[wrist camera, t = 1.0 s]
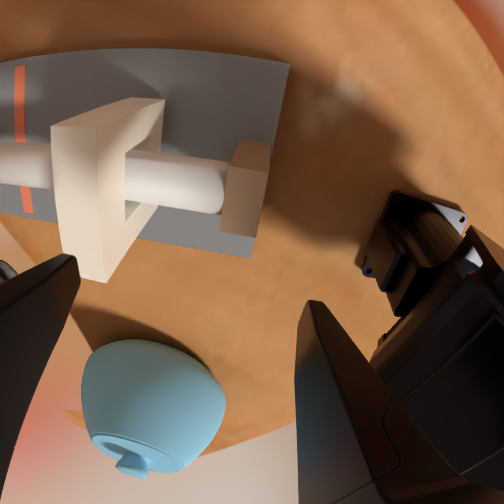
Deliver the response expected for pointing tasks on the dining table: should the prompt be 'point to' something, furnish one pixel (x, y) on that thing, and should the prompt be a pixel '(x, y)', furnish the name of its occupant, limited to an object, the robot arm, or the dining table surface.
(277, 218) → the dining table surface
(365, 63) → the dining table surface
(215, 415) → the sugar bowl
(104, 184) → the collar
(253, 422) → the dining table surface
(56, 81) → the pipe stand
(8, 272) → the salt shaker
